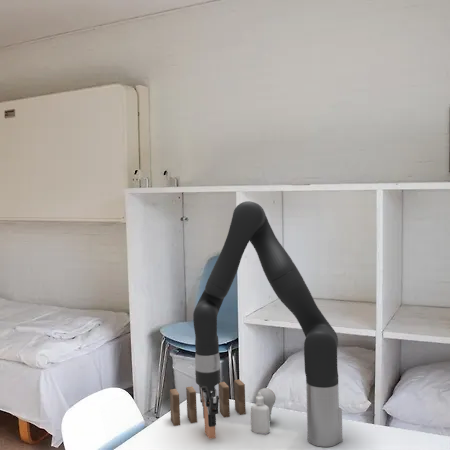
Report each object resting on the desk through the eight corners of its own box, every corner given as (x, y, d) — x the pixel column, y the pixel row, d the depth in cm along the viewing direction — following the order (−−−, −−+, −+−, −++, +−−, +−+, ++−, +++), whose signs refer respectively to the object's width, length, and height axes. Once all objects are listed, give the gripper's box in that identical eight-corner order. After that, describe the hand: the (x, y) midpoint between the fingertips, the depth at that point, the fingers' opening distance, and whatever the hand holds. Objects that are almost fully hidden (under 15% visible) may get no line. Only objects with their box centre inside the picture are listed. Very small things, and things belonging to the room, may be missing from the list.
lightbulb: (263, 416, 173) (262, 383, 172) (279, 421, 170) (278, 387, 169) (253, 423, 168) (252, 389, 167) (269, 428, 165) (268, 393, 164)
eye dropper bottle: (260, 426, 166) (259, 388, 166) (272, 432, 162) (270, 393, 161) (249, 430, 164) (248, 391, 163) (260, 436, 159) (259, 397, 159)
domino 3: (211, 430, 164) (209, 399, 164) (215, 437, 160) (214, 405, 159) (204, 431, 164) (203, 400, 163) (209, 438, 159) (208, 406, 158)
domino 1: (176, 418, 174) (175, 388, 173) (180, 425, 169) (179, 394, 169) (170, 419, 173) (169, 389, 173) (174, 426, 169) (172, 395, 168)
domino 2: (193, 416, 176) (192, 386, 175) (197, 422, 171) (195, 391, 170) (187, 417, 175) (186, 387, 174) (191, 423, 170) (189, 392, 170)
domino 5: (240, 408, 181) (239, 379, 180) (245, 414, 176) (244, 384, 175) (235, 409, 180) (234, 380, 179) (239, 415, 175) (238, 385, 175)
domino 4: (225, 410, 179) (224, 381, 178) (229, 416, 174) (228, 386, 173) (219, 411, 178) (218, 382, 178) (223, 417, 174) (222, 387, 173)
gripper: (226, 373, 155) (228, 430, 156) (213, 358, 168) (214, 411, 169) (201, 376, 152) (203, 434, 154) (189, 361, 166) (191, 415, 167)
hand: (209, 422), depth 162 cm, fingers closed on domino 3, 5 cm apart
